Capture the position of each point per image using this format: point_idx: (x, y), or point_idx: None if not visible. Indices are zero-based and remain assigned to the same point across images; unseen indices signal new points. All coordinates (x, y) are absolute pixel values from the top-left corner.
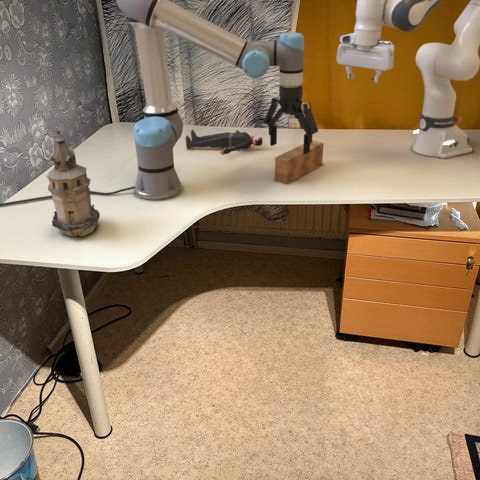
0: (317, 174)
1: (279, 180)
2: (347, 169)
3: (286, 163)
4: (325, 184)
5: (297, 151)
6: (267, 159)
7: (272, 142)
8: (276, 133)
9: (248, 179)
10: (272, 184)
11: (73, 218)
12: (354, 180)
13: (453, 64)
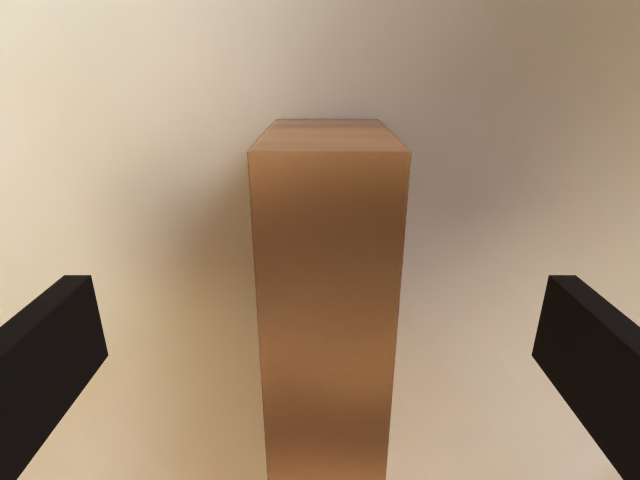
0: (224, 351)
1: (337, 121)
2: (151, 476)
3: (262, 145)
4: (92, 264)
5: (322, 393)
6: None
7: (569, 304)
8: (610, 454)
9: (559, 7)
10: (351, 48)
11: None
12: None
13: None
